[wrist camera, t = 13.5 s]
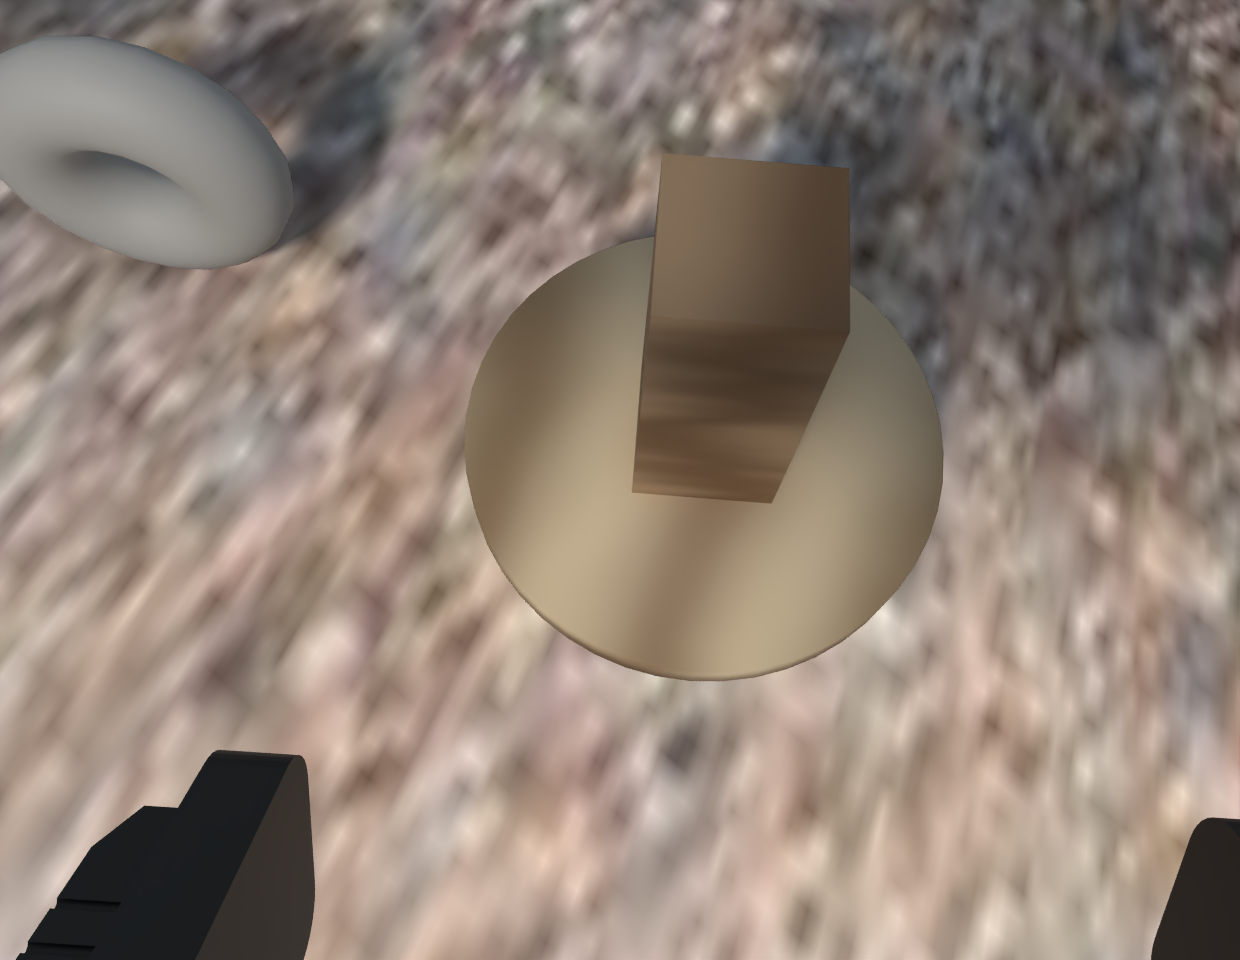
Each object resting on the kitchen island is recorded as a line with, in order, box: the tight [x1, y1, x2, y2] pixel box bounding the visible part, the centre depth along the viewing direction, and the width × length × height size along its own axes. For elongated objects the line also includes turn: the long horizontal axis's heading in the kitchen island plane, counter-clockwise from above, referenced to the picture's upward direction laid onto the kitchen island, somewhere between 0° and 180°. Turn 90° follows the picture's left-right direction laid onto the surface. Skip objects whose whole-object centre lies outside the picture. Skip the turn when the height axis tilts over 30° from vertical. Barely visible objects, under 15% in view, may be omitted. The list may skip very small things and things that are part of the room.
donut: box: [0, 36, 294, 270], centre depth 36 cm, size 10×4×10 cm, turn 82°
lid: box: [464, 154, 943, 681], centre depth 27 cm, size 14×14×11 cm
